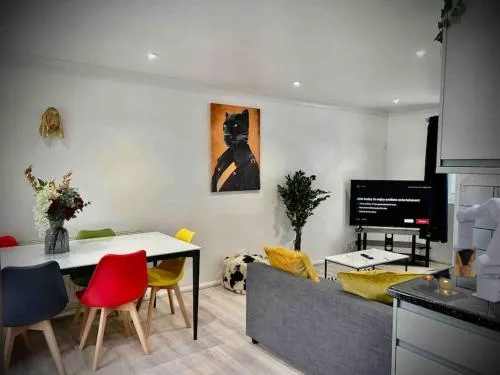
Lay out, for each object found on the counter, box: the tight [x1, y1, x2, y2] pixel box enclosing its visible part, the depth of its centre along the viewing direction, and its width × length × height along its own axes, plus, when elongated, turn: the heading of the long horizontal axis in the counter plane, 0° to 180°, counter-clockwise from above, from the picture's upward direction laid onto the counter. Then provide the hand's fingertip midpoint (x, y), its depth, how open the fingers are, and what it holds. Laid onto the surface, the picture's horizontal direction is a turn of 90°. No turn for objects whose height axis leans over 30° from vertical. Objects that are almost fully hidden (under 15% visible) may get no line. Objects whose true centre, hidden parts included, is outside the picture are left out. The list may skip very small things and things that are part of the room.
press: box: [411, 276, 468, 302], centre depth 161 cm, size 17×13×5 cm
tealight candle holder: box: [422, 274, 435, 280], centre depth 166 cm, size 4×4×4 cm
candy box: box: [453, 244, 477, 278], centre depth 185 cm, size 9×4×15 cm, turn 74°
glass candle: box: [438, 278, 454, 294], centre depth 158 cm, size 5×5×5 cm
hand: (464, 265), depth 170 cm, fingers closed
